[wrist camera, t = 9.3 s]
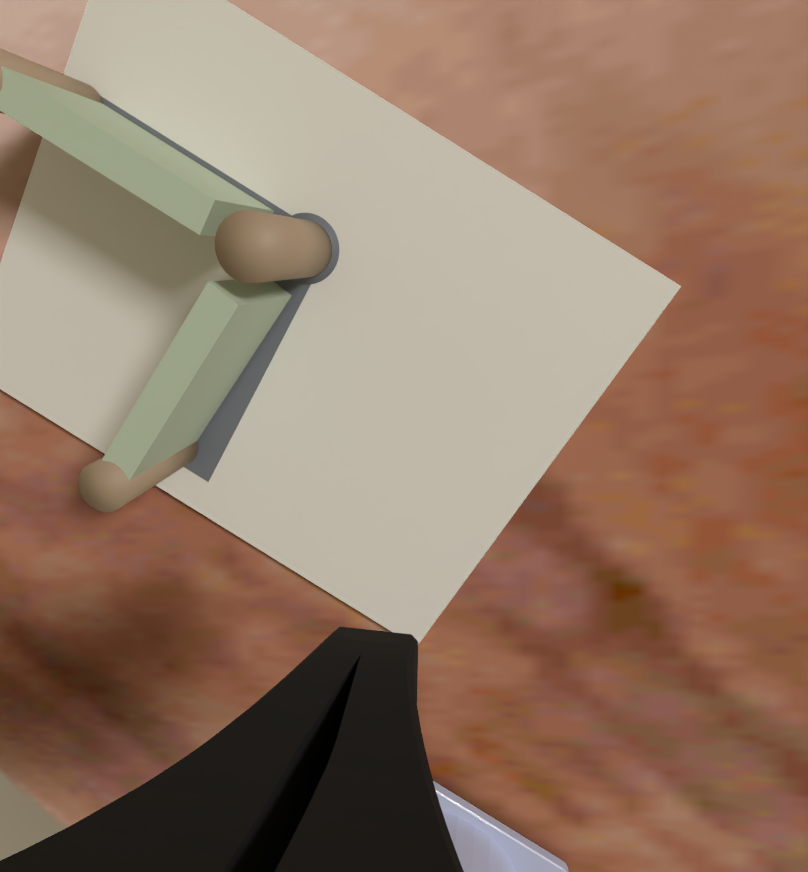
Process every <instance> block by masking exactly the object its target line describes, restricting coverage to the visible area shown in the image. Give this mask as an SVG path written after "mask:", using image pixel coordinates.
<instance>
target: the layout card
mask: <svg viewBox="0 0 808 872" xmlns="http://www.w3.org/2000/svg"><path fill="white" fill-rule="evenodd" d="M64 75H67V76H69V77H71V78H74V79H76V80H79V81H81V82H84V83H86V84H88V85H90V86H92V87H93V88H94V89H95V90H96V91H97V92H98V93H99V95H100V96H101V98H102V101H103V104H104V105H106V106H107V107H109V108H111V109H112V110H114V111H115V112H117V113H119V114H120V115H122V116H123V117H125V118H126V119H128V120H130V121H131V122H133V123H134V124H136V125H138V126H139V127H141V128H142V129H144V130H146V131H147V132H149V133H150V134H152V135H154V136H155V137H157V138H158V139H160V140H162V141H163V142H165V143H166V144H168V145H170V146H171V147H173V148H174V149H176V150H178V151H179V152H181V153H182V154H184V155H186V156H187V157H189V158H190V159H192V160H194V161H195V162H197V163H198V164H200V165H202V166H203V167H205V168H206V169H208V170H210V171H211V172H213V173H214V174H216V175H218V176H219V177H221V178H222V179H224V180H226V181H227V182H229V183H230V184H232V185H234V186H235V187H237V188H238V189H240V190H242V191H243V192H245V193H246V194H248V195H250V196H251V197H253V198H254V199H256V200H258V201H259V202H261V203H262V204H264V205H266V206H267V207H269V208H270V209H272V210H274V213H273V214H276V215H282V216H287V217H293V218H299V219H304V220H310V221H313V222H316V223H317V224H319V225H320V226H322V227H323V228H324V229H325V231H326V232H327V233H328V235H329V237H330V240H331V243H332V257H331V260H330V262H329V264H328V266H327V267H326V269H325V270H324V271H323V272H321V273H320V274H318V275H316V276H313V277H307V278H298V279H289V280H280V281H274V282H275V283H276V284H278V285H279V286H280V287H282V288H283V289H284V290H285V291H287V292H288V293H289V294H291V295H292V296H291V298H290V299H289V301H288V302H287V304H286V305H285V307H284V308H283V310H282V311H281V313H280V314H279V316H278V318H277V319H276V321H275V322H274V324H273V325H272V327H271V328H270V330H269V331H268V333H267V334H266V336H265V337H264V339H263V341H262V342H261V344H260V345H259V347H258V348H257V350H256V351H255V353H254V354H253V356H252V357H251V359H250V360H249V362H248V364H247V365H246V367H245V368H244V370H243V371H242V373H241V374H240V376H239V377H238V379H237V380H236V382H235V383H234V385H233V387H232V388H231V390H230V391H229V393H228V394H227V396H226V397H225V399H224V400H223V402H222V403H221V405H220V406H219V408H218V410H217V411H216V413H215V414H214V416H213V417H212V419H211V420H210V422H209V423H208V425H207V426H206V428H205V429H204V431H203V433H202V434H201V436H200V437H199V439H198V440H197V442H198V453H197V456H196V457H195V459H194V460H193V461H192V462H190V463H189V464H187V465H185V466H184V467H182V468H181V469H179V470H178V471H176V472H175V473H173V474H172V475H170V476H169V477H167V478H165V479H164V480H162V481H161V482H159V483H158V484H156V486H157V487H159V488H161V489H162V490H164V491H165V492H167V493H169V494H170V495H172V496H173V497H175V498H177V499H178V500H180V501H182V502H183V503H185V504H186V505H188V506H190V507H191V508H193V509H194V510H196V511H198V512H199V513H201V514H203V515H204V516H206V517H207V518H209V519H211V520H212V521H214V522H215V523H217V524H219V525H220V526H222V527H224V528H225V529H227V530H228V531H230V532H232V533H233V534H235V535H236V536H238V537H240V538H241V539H243V540H245V541H246V542H248V543H249V544H251V545H253V546H254V547H256V548H257V549H259V550H261V551H262V552H264V553H265V554H267V555H269V556H270V557H272V558H274V559H275V560H277V561H278V562H280V563H282V564H283V565H285V566H286V567H288V568H290V569H291V570H293V571H295V572H296V573H298V574H299V575H301V576H303V577H304V578H306V579H307V580H309V581H311V582H312V583H314V584H316V585H317V586H319V587H320V588H322V589H324V590H325V591H327V592H328V593H330V594H332V595H333V596H335V597H337V598H338V599H340V600H341V601H343V602H345V603H346V604H348V605H349V606H351V607H353V608H354V609H356V610H358V611H359V612H361V613H362V614H364V615H366V616H367V617H369V618H370V619H372V620H374V621H375V622H377V623H378V624H380V625H382V626H383V627H385V628H387V629H388V630H390V631H391V632H393V633H403V634H412V635H413V637H414V638H415V639H416V640H417V641H418V644H419V643H420V641H421V640H422V639H423V637H424V636H425V635H426V633H427V632H428V631H429V629H430V628H431V626H432V625H433V624H434V622H435V621H436V620H437V618H438V617H439V616H440V614H441V613H442V611H443V610H444V609H445V607H446V606H447V605H448V603H449V602H450V601H451V599H452V598H453V596H454V595H455V594H456V592H457V591H458V590H459V588H460V587H461V586H462V584H463V583H464V581H465V580H466V579H467V577H468V576H469V575H470V573H471V572H472V571H473V569H474V568H475V566H476V565H477V564H478V562H479V561H480V560H481V558H482V557H483V556H484V554H485V553H486V552H487V550H488V549H489V547H490V546H491V545H492V543H493V542H494V541H495V539H496V538H497V537H498V535H499V534H500V532H501V531H502V530H503V528H504V527H505V526H506V524H507V523H508V522H509V520H510V519H511V517H512V516H513V515H514V513H515V512H516V511H517V509H518V508H519V507H520V505H521V504H522V502H523V501H524V500H525V498H526V497H527V496H528V494H529V493H530V492H531V490H532V489H533V487H534V486H535V485H536V483H537V482H538V481H539V479H540V478H541V477H542V475H543V474H544V473H545V471H546V470H547V468H548V467H549V466H550V464H551V463H552V462H553V460H554V459H555V458H556V456H557V455H558V453H559V452H560V451H561V449H562V448H563V447H564V445H565V444H566V443H567V441H568V440H569V438H570V437H571V436H572V434H573V433H574V432H575V430H576V429H577V428H578V426H579V425H580V423H581V422H582V421H583V419H584V418H585V417H586V415H587V414H588V413H589V411H590V410H591V408H592V407H593V406H594V404H595V403H596V402H597V400H598V399H599V398H600V396H601V395H602V394H603V392H604V391H605V389H606V388H607V387H608V385H609V384H610V383H611V381H612V380H613V379H614V377H615V376H616V374H617V373H618V372H619V370H620V369H621V368H622V366H623V365H624V364H625V362H626V361H627V359H628V358H629V357H630V355H631V354H632V353H633V351H634V350H635V349H636V347H637V346H638V344H639V343H640V342H641V340H642V339H643V338H644V336H645V335H646V334H647V332H648V331H649V329H650V328H651V327H652V325H653V324H654V323H655V321H656V320H657V319H658V317H659V316H660V315H661V313H662V312H663V310H664V309H665V308H666V306H667V305H668V304H669V302H670V301H671V300H672V298H673V297H674V295H675V294H676V293H677V291H678V290H679V289H680V287H681V286H680V285H678V284H677V283H675V282H673V281H672V280H670V279H669V278H667V277H665V276H664V275H662V274H661V273H659V272H658V271H656V270H654V269H653V268H651V267H650V266H648V265H646V264H645V263H643V262H642V261H640V260H638V259H637V258H635V257H634V256H632V255H631V254H629V253H627V252H626V251H624V250H623V249H621V248H619V247H618V246H616V245H615V244H613V243H611V242H610V241H608V240H607V239H605V238H603V237H602V236H600V235H599V234H597V233H596V232H594V231H592V230H591V229H589V228H588V227H586V226H584V225H583V224H581V223H580V222H578V221H576V220H575V219H573V218H572V217H570V216H569V215H567V214H565V213H564V212H562V211H561V210H559V209H557V208H556V207H554V206H553V205H551V204H549V203H548V202H546V201H545V200H543V199H541V198H540V197H538V196H537V195H535V194H534V193H532V192H530V191H529V190H527V189H526V188H524V187H522V186H521V185H519V184H518V183H516V182H514V181H513V180H511V179H510V178H508V177H506V176H505V175H503V174H502V173H500V172H499V171H497V170H495V169H494V168H492V167H491V166H489V165H487V164H486V163H484V162H483V161H481V160H479V159H478V158H476V157H475V156H473V155H472V154H470V153H468V152H467V151H465V150H464V149H462V148H460V147H459V146H457V145H456V144H454V143H452V142H451V141H449V140H448V139H446V138H444V137H443V136H441V135H440V134H438V133H437V132H435V131H433V130H432V129H430V128H429V127H427V126H425V125H424V124H422V123H421V122H419V121H417V120H416V119H414V118H413V117H411V116H410V115H408V114H406V113H405V112H403V111H402V110H400V109H398V108H397V107H395V106H394V105H392V104H390V103H389V102H387V101H386V100H384V99H382V98H381V97H379V96H378V95H376V94H375V93H373V92H371V91H370V90H368V89H367V88H365V87H363V86H362V85H360V84H359V83H357V82H355V81H354V80H352V79H351V78H349V77H347V76H346V75H344V74H343V73H341V72H340V71H338V70H336V69H335V68H333V67H332V66H330V65H328V64H327V63H325V62H324V61H322V60H320V59H319V58H317V57H316V56H314V55H313V54H311V53H309V52H308V51H306V50H305V49H303V48H301V47H300V46H298V45H297V44H295V43H293V42H292V41H290V40H289V39H287V38H285V37H284V36H282V35H281V34H279V33H278V32H276V31H274V30H273V29H271V28H270V27H268V26H266V25H265V24H263V23H262V22H260V21H258V20H257V19H255V18H254V17H252V16H251V15H249V14H247V13H246V12H244V11H243V10H241V9H239V8H238V7H236V6H235V5H233V4H231V3H230V2H228V1H227V0H88V2H87V5H86V8H85V11H84V14H83V17H82V20H81V23H80V26H79V29H78V32H77V35H76V38H75V41H74V44H73V47H72V50H71V53H70V56H69V59H68V62H67V65H66V68H65V71H64ZM233 279H234V278H232V277H231V276H229V275H228V274H227V273H226V272H225V271H224V269H223V268H222V267H221V265H220V263H219V261H218V259H217V256H216V252H215V236H205V235H198V234H197V233H195V232H194V231H192V230H190V229H189V228H187V227H186V226H184V225H182V224H181V223H179V222H178V221H176V220H174V219H173V218H171V217H170V216H168V215H166V214H165V213H163V212H162V211H160V210H158V209H157V208H155V207H154V206H152V205H150V204H149V203H147V202H146V201H144V200H142V199H141V198H139V197H138V196H136V195H134V194H133V193H131V192H130V191H128V190H126V189H125V188H123V187H122V186H120V185H118V184H117V183H115V182H114V181H112V180H110V179H109V178H107V177H106V176H104V175H102V174H101V173H99V172H98V171H96V170H94V169H93V168H91V167H90V166H88V165H86V164H85V163H83V162H82V161H80V160H78V159H77V158H75V157H74V156H72V155H70V154H69V153H67V152H66V151H64V150H62V149H61V148H59V147H58V146H56V145H54V144H53V143H51V142H50V141H48V140H46V139H45V138H43V137H42V140H41V143H40V146H39V149H38V152H37V155H36V158H35V161H34V164H33V167H32V170H31V173H30V176H29V179H28V182H27V185H26V188H25V191H24V194H23V197H22V200H21V203H20V206H19V209H18V212H17V215H16V218H15V221H14V224H13V227H12V230H11V233H10V236H9V239H8V242H7V245H6V248H5V251H4V254H3V257H2V260H1V263H0V389H1V390H2V391H4V392H6V393H7V394H9V395H10V396H12V397H14V398H15V399H17V400H19V401H20V402H22V403H23V404H25V405H27V406H28V407H30V408H31V409H33V410H35V411H36V412H38V413H40V414H41V415H43V416H44V417H46V418H48V419H49V420H51V421H52V422H54V423H56V424H57V425H59V426H60V427H62V428H64V429H65V430H67V431H69V432H70V433H72V434H73V435H75V436H77V437H78V438H80V439H81V440H83V441H85V442H86V443H88V444H90V445H91V446H93V447H94V448H96V449H98V450H99V451H101V452H102V453H104V454H106V452H107V451H108V449H109V447H110V445H111V444H112V442H113V440H114V439H115V437H116V435H117V434H118V432H119V430H120V429H121V427H122V425H123V424H124V422H125V420H126V419H127V417H128V415H129V414H130V412H131V410H132V409H133V407H134V405H135V403H136V402H137V400H138V398H139V397H140V395H141V393H142V392H143V390H144V388H145V387H146V385H147V383H148V382H149V380H150V378H151V377H152V375H153V373H154V372H155V370H156V368H157V366H158V365H159V363H160V361H161V360H162V358H163V356H164V355H165V353H166V351H167V350H168V348H169V346H170V345H171V343H172V341H173V340H174V338H175V336H176V335H177V333H178V331H179V330H180V328H181V326H182V324H183V323H184V321H185V319H186V318H187V316H188V314H189V313H190V311H191V309H192V308H193V306H194V304H195V303H196V301H197V299H198V298H199V296H200V294H201V293H202V291H203V289H204V288H205V286H206V284H207V282H210V281H222V280H233Z"/></svg>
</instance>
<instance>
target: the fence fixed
mask: <svg viewBox="0 0 808 872" xmlns="http://www.w3.org/2000/svg"><path fill="white" fill-rule="evenodd" d="M0 113H3V114H6V115H8V116H10V117H11V118H13V119H14V120H16V121H18V122H19V123H21V124H22V125H24V126H26V127H27V128H29V129H30V130H32V131H34V132H35V133H37V134H38V135H40V136H42V137H43V138H45V139H46V140H48V141H50V142H51V143H53V144H54V145H56V146H58V147H59V148H61V149H62V150H64V151H66V152H67V153H69V154H70V155H72V156H74V157H75V158H77V159H78V160H80V161H82V162H83V163H85V164H86V165H88V166H90V167H91V168H93V169H94V170H96V171H98V172H99V173H101V174H102V175H104V176H106V177H107V178H109V179H110V180H112V181H114V182H115V183H117V184H118V185H120V186H122V187H123V188H125V189H126V190H128V191H130V192H131V193H133V194H134V195H136V196H138V197H139V198H141V199H142V200H144V201H146V202H147V203H149V204H150V205H152V206H154V207H155V208H157V209H158V210H160V211H162V212H163V213H165V214H166V215H168V216H170V217H171V218H173V219H174V220H176V221H178V222H179V223H181V224H182V225H184V226H186V227H187V228H189V229H190V230H192V231H194V232H195V233H197V234H198V235H205V236H215V252H216V256H217V259H218V261H219V263H220V265H221V267H222V268H223V269H224V271H225V272H226V273H227V274H228V275H229V276H231V277H232V278H234V279H235V280H237V281H240V282H243V283H261V282H270V281H280V280H289V279H298V278H307V277H313V276H316V275H318V274H320V273H321V272H323V271H324V270H325V269H326V267H327V266H328V264H329V262H330V260H331V257H332V243H331V240H330V237H329V235H328V233H327V232H326V231H325V229H324V228H323V227H322V226H320V225H319V224H317V223H316V222H313V221H310V220H304V219H299V218H293V217H287V216H282V215H276V214H273V213H274V210H272V209H270V208H269V207H267V206H266V205H264V204H262V203H261V202H259V201H258V200H256V199H254V198H253V197H251V196H250V195H248V194H246V193H245V192H243V191H242V190H240V189H238V188H237V187H235V186H234V185H232V184H230V183H229V182H227V181H226V180H224V179H222V178H221V177H219V176H218V175H216V174H214V173H213V172H211V171H210V170H208V169H206V168H205V167H203V166H202V165H200V164H198V163H197V162H195V161H194V160H192V159H190V158H189V157H187V156H186V155H184V154H182V153H181V152H179V151H178V150H176V149H174V148H173V147H171V146H170V145H168V144H166V143H165V142H163V141H162V140H160V139H158V138H157V137H155V136H154V135H152V134H150V133H149V132H147V131H146V130H144V129H142V128H141V127H139V126H138V125H136V124H134V123H133V122H131V121H130V120H128V119H126V118H125V117H123V116H122V115H120V114H119V113H117V112H115V111H114V110H112V109H111V108H109V107H107V106H106V105H104V104H103V101H102V98H101V96H100V95H99V93H98V92H97V91H96V90H95V89H94V88H93V87H92V86H90V85H88V84H86V83H84V82H81V81H79V80H76V79H74V78H71V77H69V76H67V75H64V74H62V73H59V72H57V71H54V70H52V69H49V68H47V67H44V66H42V65H40V64H37V63H35V62H32V61H30V60H27V59H25V58H22V57H20V56H17V55H15V54H12V53H10V52H8V51H5V50H3V49H0Z"/></svg>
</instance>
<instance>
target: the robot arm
mask: <svg viewBox="0 0 808 872" xmlns="http://www.w3.org/2000/svg"><path fill="white" fill-rule="evenodd" d="M417 666H418V641H417V640H416V639H415V638H414V637H413V635H412V634H403V633H393V632H384V631H375V630H365V629H356V628H346V627H339V628H338V629H337V630H336V631H334V632H333V633H332V634H331V635H330V636H329V637H328V638H327V639H326V640H324V641H323V642H322V643H321V644H320V645H319V646H318V647H317V648H316V649H315V650H314V651H313V652H312V653H311V654H310V655H309V656H308V657H306V658H305V659H304V660H303V661H302V662H301V663H300V664H299V665H298V666H297V667H296V668H295V669H294V670H292V671H291V672H290V673H289V674H288V675H287V676H286V677H285V678H284V679H282V680H281V681H280V682H279V683H278V684H277V685H276V686H274V687H273V688H272V689H271V690H270V691H269V692H268V693H267V694H265V695H264V696H263V697H262V698H261V699H260V700H259V701H257V702H256V703H255V704H254V705H253V706H251V707H250V708H249V709H248V710H246V711H245V712H244V713H243V714H241V715H240V716H239V717H238V718H236V719H235V720H234V721H233V722H231V723H230V724H229V725H228V726H226V727H225V728H224V729H223V730H221V731H220V732H219V733H217V734H216V735H215V736H214V737H212V738H211V739H210V740H208V741H207V742H206V743H204V744H203V745H202V746H200V747H199V748H197V749H196V750H195V751H193V752H192V753H190V754H189V755H188V756H186V757H185V758H183V759H182V760H180V761H179V762H177V763H176V764H174V765H172V766H171V767H169V768H168V769H166V770H165V771H163V772H162V773H160V774H159V775H157V776H156V777H154V778H153V779H151V780H149V781H148V782H146V783H145V784H143V785H141V786H140V787H138V788H136V789H135V790H133V791H131V792H129V793H128V794H126V795H124V796H122V797H121V798H119V799H117V800H115V801H114V802H112V803H110V804H108V805H107V806H105V807H103V808H101V809H100V810H98V811H96V812H94V813H93V814H91V815H89V816H87V817H86V818H84V819H82V820H80V821H79V822H77V823H75V824H73V825H71V826H70V827H68V828H66V829H64V830H62V831H60V832H58V833H56V834H54V835H52V836H50V837H48V838H46V839H44V840H42V841H40V842H39V843H36V844H34V845H33V846H31V847H28V848H27V849H25V850H23V851H20V852H18V853H16V854H14V855H12V856H10V857H8V858H5V859H3V860H1V861H0V872H568V867H567V865H566V863H565V862H563V861H562V860H561V859H559V858H557V857H556V856H554V855H553V854H551V853H549V852H548V851H546V850H544V849H543V848H541V847H540V846H538V845H536V844H535V843H533V842H531V841H530V840H528V839H527V838H525V837H523V836H522V835H520V834H518V833H517V832H515V831H514V830H512V829H510V828H509V827H507V826H506V825H504V824H502V823H501V822H499V821H497V820H496V819H494V818H493V817H491V816H489V815H488V814H486V813H484V812H483V811H481V810H480V809H478V808H476V807H475V806H473V805H472V804H470V803H468V802H467V801H465V800H463V799H462V798H460V797H459V796H457V795H455V794H454V793H452V792H450V791H449V790H447V789H446V788H444V787H442V786H441V785H439V784H437V783H436V782H434V781H433V779H432V776H431V772H430V768H429V764H428V760H427V756H426V752H425V748H424V743H423V738H422V733H421V728H420V722H419V716H418V710H417Z"/></svg>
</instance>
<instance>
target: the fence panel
mask: <svg viewBox="0 0 808 872" xmlns="http://www.w3.org/2000/svg"><path fill="white" fill-rule="evenodd" d="M291 296H292V295H291V294H289V293H288V292H287V291H285V290H284V289H283V288H282V287H280V286H279V285H278V284H276V283H275V282H274V281H270V282H261V283H243V282H240V281H237V280H235V279H233V280H222V281H210V282H207V284H206V286H205V288H204V289H203V291H202V293H201V294H200V296H199V298H198V299H197V301H196V303H195V304H194V306H193V308H192V309H191V311H190V313H189V314H188V316H187V318H186V319H185V321H184V323H183V324H182V326H181V328H180V330H179V331H178V333H177V335H176V336H175V338H174V340H173V341H172V343H171V345H170V346H169V348H168V350H167V351H166V353H165V355H164V356H163V358H162V360H161V361H160V363H159V365H158V366H157V368H156V370H155V372H154V373H153V375H152V377H151V378H150V380H149V382H148V383H147V385H146V387H145V388H144V390H143V392H142V393H141V395H140V397H139V398H138V400H137V402H136V403H135V405H134V407H133V409H132V410H131V412H130V414H129V415H128V417H127V419H126V420H125V422H124V424H123V425H122V427H121V429H120V430H119V432H118V434H117V435H116V437H115V439H114V440H113V442H112V444H111V445H110V447H109V449H108V451H107V452H106V454H105V456H104V457H103V458H101V459H99V460H97V461H95V462H93V463H91V464H89V465H87V466H85V467H84V468H83V469H82V470H81V472H80V474H79V477H78V489H79V492H80V494H81V496H82V498H83V499H84V501H85V502H86V503H87V504H88V505H89V506H91V507H92V508H94V509H95V510H98V511H101V512H113V511H116V510H118V509H119V508H121V507H122V506H124V505H125V504H127V503H128V502H130V501H131V500H133V499H135V498H136V497H138V496H139V495H141V494H142V493H144V492H145V491H147V490H148V489H150V488H152V487H153V486H155V485H156V484H158V483H159V482H161V481H162V480H164V479H165V478H167V477H169V476H170V475H172V474H173V473H175V472H176V471H178V470H179V469H181V468H182V467H184V466H185V465H187V464H189V463H190V462H192V461H193V460H194V459H195V457H196V456H197V453H198V442H197V440H198V439H199V437H200V436H201V434H202V433H203V431H204V429H205V428H206V426H207V425H208V423H209V422H210V420H211V419H212V417H213V416H214V414H215V413H216V411H217V410H218V408H219V406H220V405H221V403H222V402H223V400H224V399H225V397H226V396H227V394H228V393H229V391H230V390H231V388H232V387H233V385H234V383H235V382H236V380H237V379H238V377H239V376H240V374H241V373H242V371H243V370H244V368H245V367H246V365H247V364H248V362H249V360H250V359H251V357H252V356H253V354H254V353H255V351H256V350H257V348H258V347H259V345H260V344H261V342H262V341H263V339H264V337H265V336H266V334H267V333H268V331H269V330H270V328H271V327H272V325H273V324H274V322H275V321H276V319H277V318H278V316H279V314H280V313H281V311H282V310H283V308H284V307H285V305H286V304H287V302H288V301H289V299H290V298H291Z"/></svg>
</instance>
